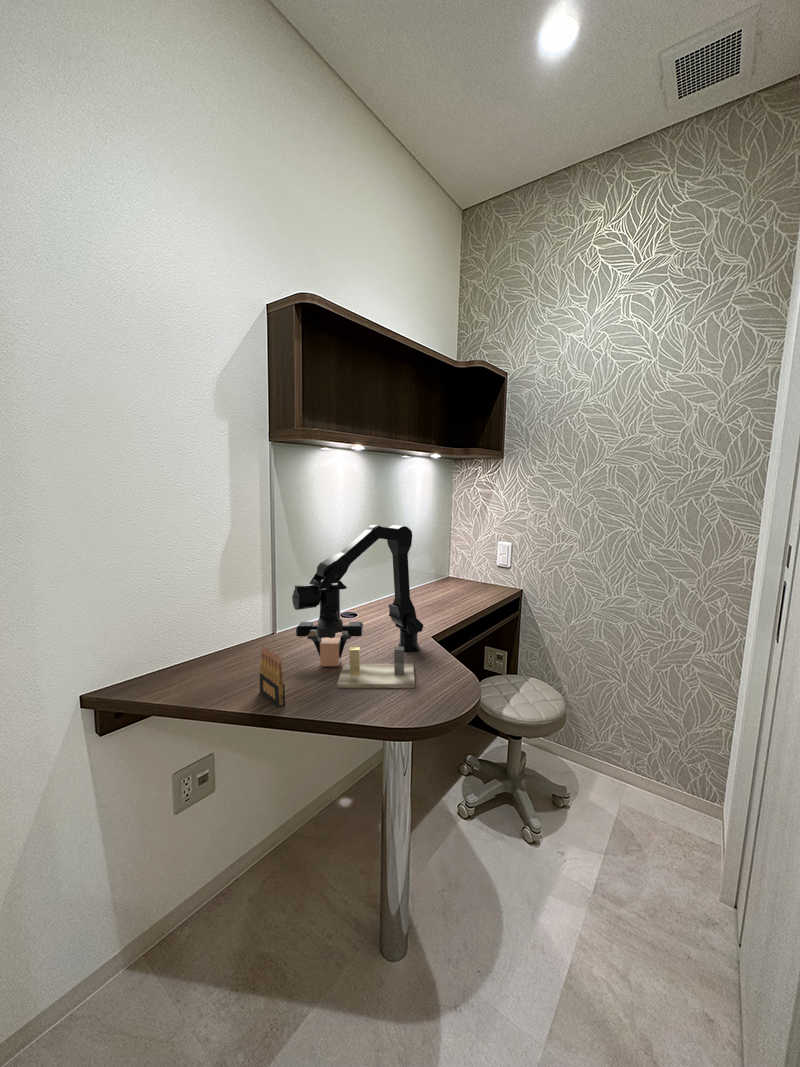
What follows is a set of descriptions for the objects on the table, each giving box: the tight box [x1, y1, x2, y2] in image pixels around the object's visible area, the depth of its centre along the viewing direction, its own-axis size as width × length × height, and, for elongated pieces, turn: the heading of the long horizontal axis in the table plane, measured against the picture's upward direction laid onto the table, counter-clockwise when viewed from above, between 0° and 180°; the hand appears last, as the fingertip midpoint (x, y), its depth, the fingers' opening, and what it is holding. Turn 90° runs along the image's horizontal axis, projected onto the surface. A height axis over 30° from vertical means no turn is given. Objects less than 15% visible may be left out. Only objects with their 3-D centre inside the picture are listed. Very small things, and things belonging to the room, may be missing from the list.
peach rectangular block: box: [319, 637, 342, 667], centre depth 133 cm, size 5×5×7 cm
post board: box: [336, 646, 416, 689], centre depth 124 cm, size 14×20×8 cm
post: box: [349, 646, 361, 675], centre depth 124 cm, size 3×3×7 cm
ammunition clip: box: [259, 645, 286, 708], centre depth 111 cm, size 11×2×12 cm, turn 40°
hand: (330, 657), depth 133 cm, fingers closed on peach rectangular block, 5 cm apart
